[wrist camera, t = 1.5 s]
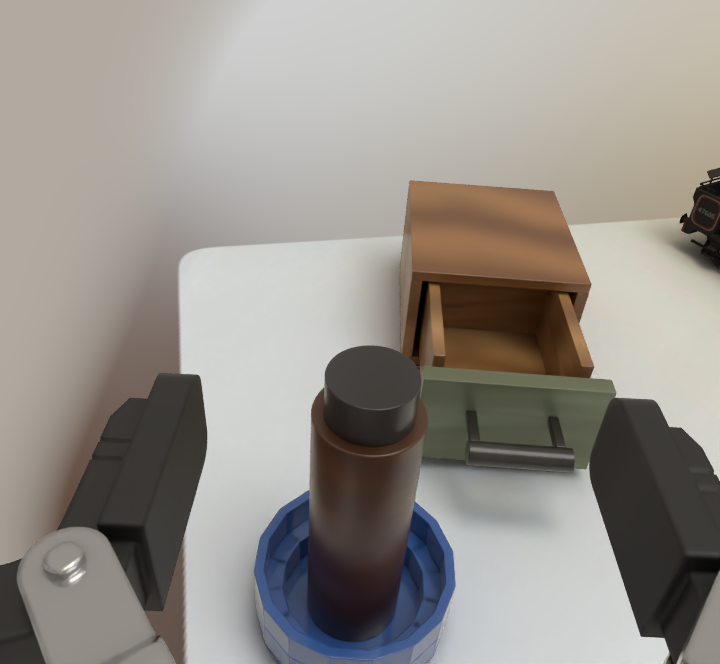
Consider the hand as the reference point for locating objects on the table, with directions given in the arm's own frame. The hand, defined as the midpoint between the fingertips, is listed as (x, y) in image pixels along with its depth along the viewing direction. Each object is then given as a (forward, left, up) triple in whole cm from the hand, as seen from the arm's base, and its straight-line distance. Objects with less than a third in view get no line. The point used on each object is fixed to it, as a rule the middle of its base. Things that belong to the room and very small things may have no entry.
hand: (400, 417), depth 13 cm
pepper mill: (0, +10, -24) cm, 26 cm away
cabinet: (+9, +38, -25) cm, 46 cm away
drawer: (+9, +25, -24) cm, 36 cm away
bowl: (0, +10, -25) cm, 27 cm away
